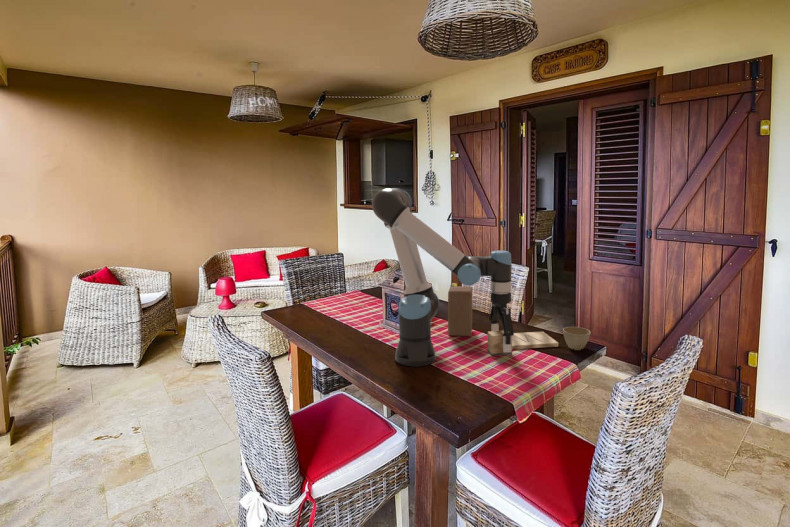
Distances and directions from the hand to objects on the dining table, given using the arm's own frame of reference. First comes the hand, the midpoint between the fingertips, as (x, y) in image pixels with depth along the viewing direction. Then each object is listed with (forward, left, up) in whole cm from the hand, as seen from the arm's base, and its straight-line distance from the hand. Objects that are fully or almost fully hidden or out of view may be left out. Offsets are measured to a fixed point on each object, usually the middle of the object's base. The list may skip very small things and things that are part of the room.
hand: (500, 345), depth 171 cm
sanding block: (0, 0, -3) cm, 3 cm away
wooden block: (-9, +25, -3) cm, 27 cm away
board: (+15, +10, -3) cm, 18 cm away
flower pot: (+31, 0, -3) cm, 31 cm away
